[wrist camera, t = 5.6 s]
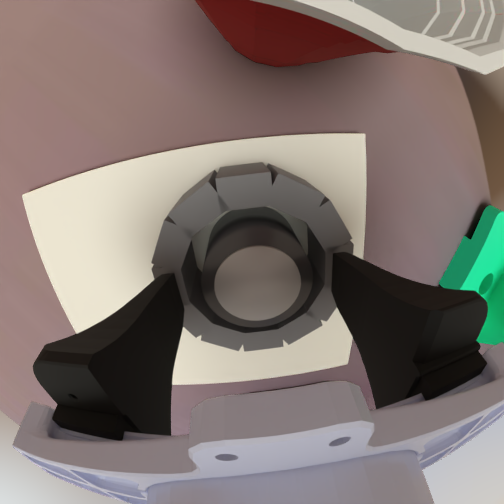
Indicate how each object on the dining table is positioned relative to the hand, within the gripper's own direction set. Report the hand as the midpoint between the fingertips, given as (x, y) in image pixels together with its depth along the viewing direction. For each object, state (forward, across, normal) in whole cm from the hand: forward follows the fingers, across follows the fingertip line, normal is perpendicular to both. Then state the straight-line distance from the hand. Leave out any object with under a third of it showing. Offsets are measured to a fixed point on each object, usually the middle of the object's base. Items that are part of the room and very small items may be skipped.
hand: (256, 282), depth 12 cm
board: (+5, +4, +3) cm, 7 cm away
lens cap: (+4, 0, 0) cm, 4 cm away
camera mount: (+5, -20, +6) cm, 21 cm away
